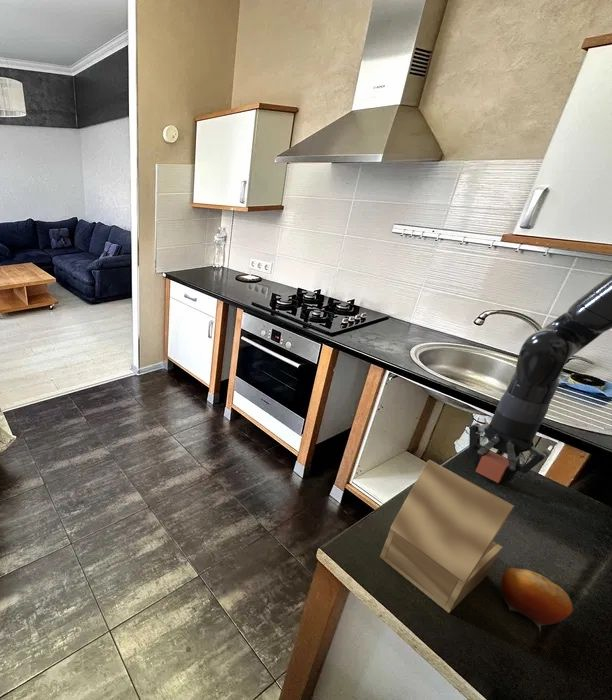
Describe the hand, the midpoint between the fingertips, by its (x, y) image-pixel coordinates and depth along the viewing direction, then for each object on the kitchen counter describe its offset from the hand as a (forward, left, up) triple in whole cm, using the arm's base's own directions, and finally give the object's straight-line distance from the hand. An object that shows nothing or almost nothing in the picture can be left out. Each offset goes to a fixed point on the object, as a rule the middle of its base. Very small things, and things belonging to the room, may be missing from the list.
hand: (491, 472), depth 90 cm
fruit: (+14, +34, -2) cm, 36 cm away
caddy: (+25, +28, -1) cm, 38 cm away
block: (0, 0, 0) cm, 0 cm away
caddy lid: (+28, +31, +13) cm, 44 cm away
